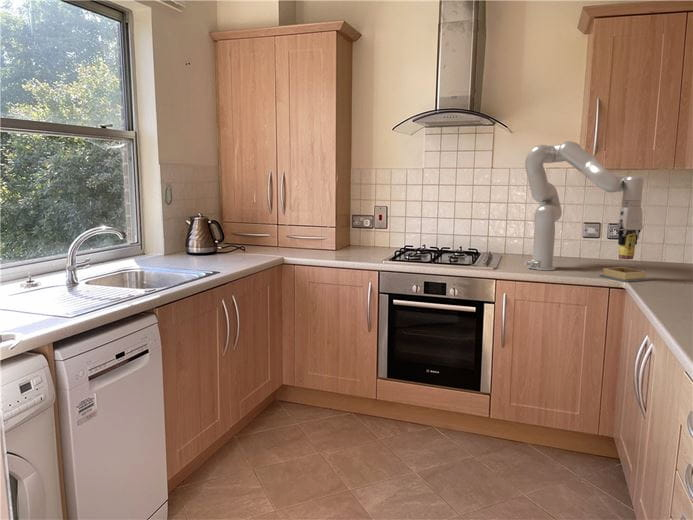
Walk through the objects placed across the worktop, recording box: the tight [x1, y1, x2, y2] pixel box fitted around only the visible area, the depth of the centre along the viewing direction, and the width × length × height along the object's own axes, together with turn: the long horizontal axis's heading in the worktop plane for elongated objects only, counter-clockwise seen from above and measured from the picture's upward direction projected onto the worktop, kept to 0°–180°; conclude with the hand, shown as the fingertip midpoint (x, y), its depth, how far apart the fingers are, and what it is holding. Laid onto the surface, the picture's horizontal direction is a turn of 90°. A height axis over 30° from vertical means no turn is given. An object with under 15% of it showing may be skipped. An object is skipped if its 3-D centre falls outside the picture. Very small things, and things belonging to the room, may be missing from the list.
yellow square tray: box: [599, 266, 650, 283], centre depth 237 cm, size 14×14×4 cm
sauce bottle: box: [618, 228, 636, 260], centre depth 234 cm, size 6×6×20 cm
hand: (627, 244), depth 235 cm, fingers closed on sauce bottle, 6 cm apart
